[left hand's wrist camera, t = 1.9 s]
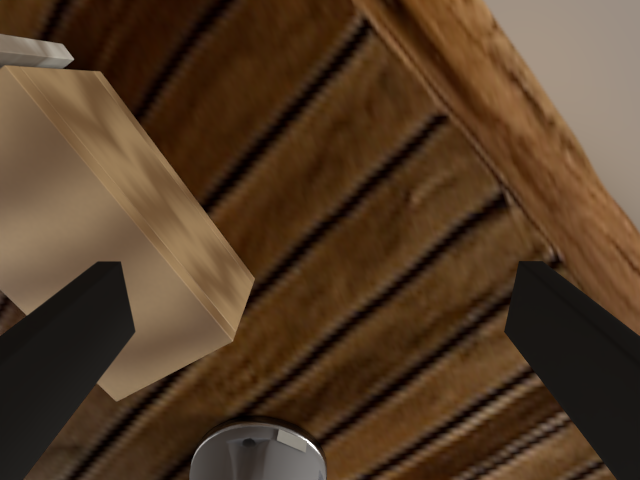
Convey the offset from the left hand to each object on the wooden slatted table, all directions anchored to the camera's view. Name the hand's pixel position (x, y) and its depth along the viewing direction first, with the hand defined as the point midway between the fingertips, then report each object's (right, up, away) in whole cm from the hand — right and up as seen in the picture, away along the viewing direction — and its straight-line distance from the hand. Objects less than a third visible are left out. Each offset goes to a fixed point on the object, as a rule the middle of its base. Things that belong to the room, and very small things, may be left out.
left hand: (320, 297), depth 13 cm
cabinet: (-16, +4, +20) cm, 26 cm away
